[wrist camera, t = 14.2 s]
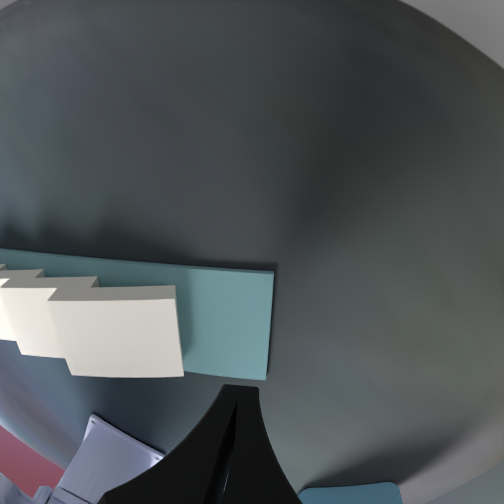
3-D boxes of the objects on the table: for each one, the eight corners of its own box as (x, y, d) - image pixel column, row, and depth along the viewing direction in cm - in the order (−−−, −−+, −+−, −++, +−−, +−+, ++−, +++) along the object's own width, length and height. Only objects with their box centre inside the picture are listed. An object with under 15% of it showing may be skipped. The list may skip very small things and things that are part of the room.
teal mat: (274, 271, 14) (273, 274, 14) (265, 375, 16) (265, 380, 16) (-29, 244, 16) (-32, 246, 16) (-13, 310, 19) (-15, 312, 18)
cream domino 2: (90, 287, 14) (-2, 287, 12) (107, 360, 15) (21, 354, 13) (97, 276, 15) (10, 278, 13) (112, 345, 16) (29, 341, 15)
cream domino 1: (34, 278, 14) (-31, 279, 12) (53, 343, 15) (-12, 337, 14) (43, 269, 15) (-21, 271, 14) (59, 331, 17) (-4, 327, 15)
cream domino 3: (174, 298, 13) (47, 300, 12) (184, 376, 15) (71, 374, 13) (175, 285, 15) (57, 287, 13) (183, 359, 16) (78, 359, 15)
